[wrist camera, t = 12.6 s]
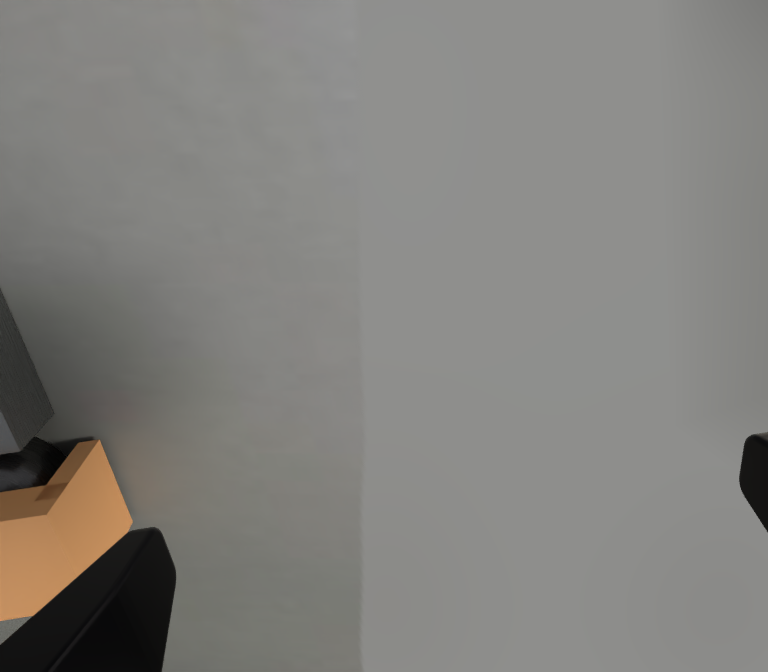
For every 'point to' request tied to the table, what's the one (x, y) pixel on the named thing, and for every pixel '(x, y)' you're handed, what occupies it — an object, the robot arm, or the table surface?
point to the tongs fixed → (22, 414)
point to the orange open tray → (58, 530)
